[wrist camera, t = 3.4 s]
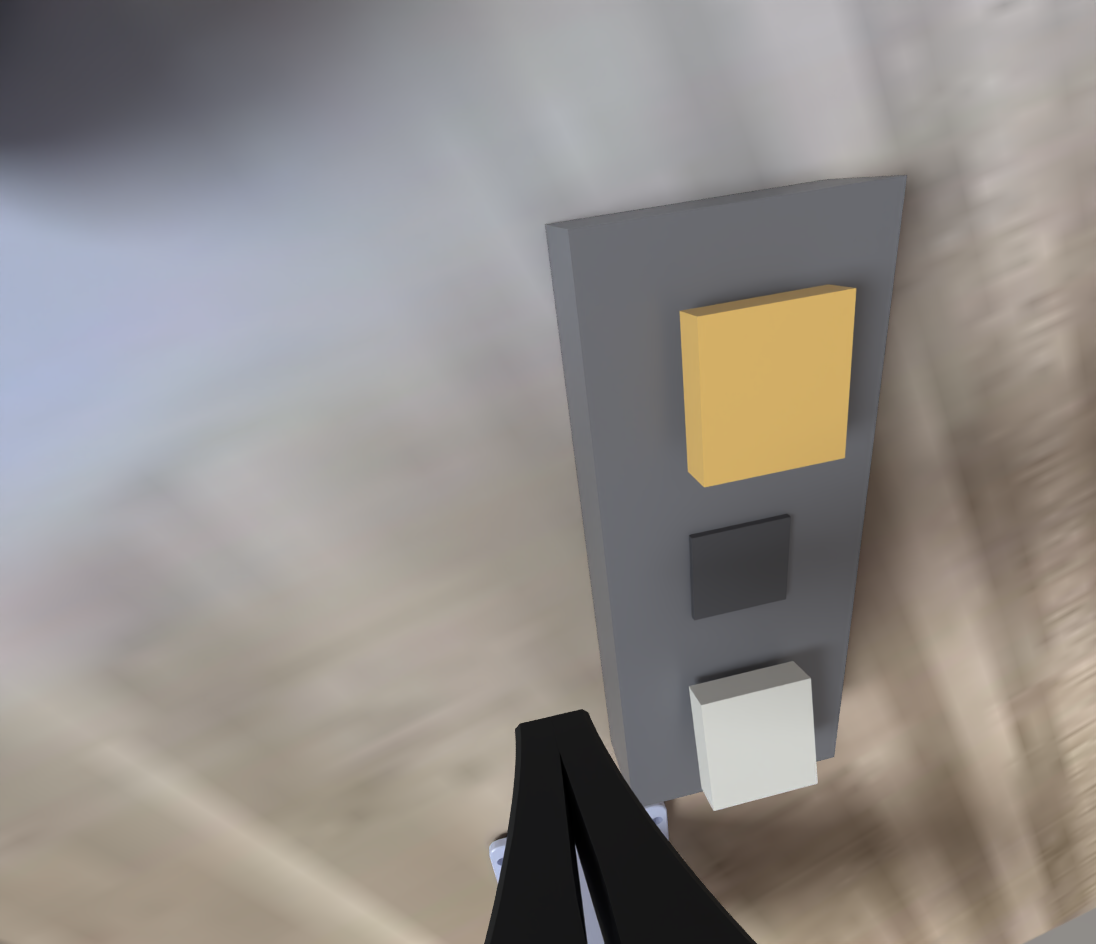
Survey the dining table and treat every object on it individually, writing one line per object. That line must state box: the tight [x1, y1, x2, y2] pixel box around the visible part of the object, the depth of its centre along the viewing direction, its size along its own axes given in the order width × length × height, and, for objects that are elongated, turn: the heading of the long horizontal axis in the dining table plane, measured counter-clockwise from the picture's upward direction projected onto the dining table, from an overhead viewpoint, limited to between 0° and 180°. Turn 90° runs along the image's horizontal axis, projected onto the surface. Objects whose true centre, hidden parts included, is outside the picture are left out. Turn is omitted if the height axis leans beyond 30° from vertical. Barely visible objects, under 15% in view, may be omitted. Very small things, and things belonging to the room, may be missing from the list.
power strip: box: [545, 175, 907, 807], centre depth 19 cm, size 23×8×3 cm, turn 8°
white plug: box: [689, 661, 818, 811], centre depth 19 cm, size 4×4×1 cm
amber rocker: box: [680, 284, 856, 487], centre depth 14 cm, size 4×4×1 cm
